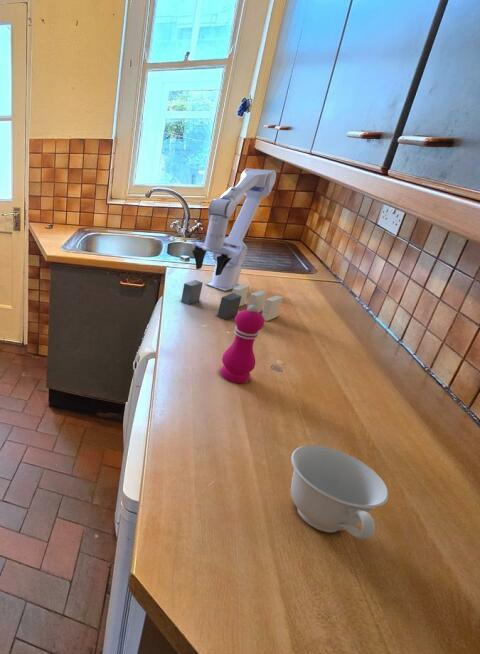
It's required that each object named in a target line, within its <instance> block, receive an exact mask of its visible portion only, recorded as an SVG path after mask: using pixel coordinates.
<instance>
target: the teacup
mask: <svg viewBox="0 0 480 654" xmlns="http://www.w3.org/2000/svg"><path fill="white" fill-rule="evenodd" d="M290 460H291V461H290V462H291V465H292V467H293V474H292V478H291V485H290V496H291V499H292V502H293V504H294V506H295V507H296V508H297V513H298V515H299V516H300V518H301V519H302V520H303V521H304V522H306V523H307V524H308V525H309V526H311V527H313V528H314V529H316V530H318V531H321V532H325V533H335V532H337V531H347V532H348V533H349V534H350V535H351V536H352V537H354V538H356V539H359V540H369V539H371V538H372V537H373V536H374V534H375V531H376V524H375V520H374V519H373V517H372V515H371V514H370V512H371V511H372V510H373V509H375V508H379V507H382V506H383V505H385V504H386V503H387V502H388V500H389V496H390V495H389V494H390V493H389V489H388V487H387V485H386V483H385V482H384V481H383V479H382V478H381V477H380V476H379V475H378V474H377V472H375V471H374V469H372V468H371V467H370V466H368V465H367V464H365V462H363V461H361V460H360V459H358V458H356V457H354V456H352V455H351V454H349V453H346V452H344V451H342V450H339V449H336V448H332V447H329V446H322V445H313V444H312V445H311V444H310V445H303V446H299V447H297V448H295V449H294V450H293V452H292V453H291V457H290ZM360 523H361V528H360V530H359V529H358V528H357V526H358V525H359V524H360Z"/></svg>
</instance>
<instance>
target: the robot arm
mask: <svg viewBox="0 0 480 654" xmlns="http://www.w3.org/2000/svg"><path fill="white" fill-rule="evenodd" d="M276 179H277V172H276V169H275V170H274V169H259V168H250V167H248V168H245V169H244V170H243V171H242V173H241V175H240V177H239V182H238V183H237V184H236V185H235V186H231V187H230V188H228V189H227V190H226V191H225V192H223V194H222V195H221V196H220V197H218V198H217V197H216V198H214V199H212V200H211V201H210V203H209V206H208V208H207V214H208V216H207V220H208V226H207V230H206V235H205V240H204V242H201V241H194V242H192V248H193V249H192V254H193V257H194V261H195V269H196V270H200V269H202V267H203V263H204V260H205V256H206V254H207V252H209V253H212V254H211V257H212V260H213V261H214V262H213V263H214V265H215V266H214V270H213V275H212V278H211V279H212V280H211V281H209V282H207V283H206V285H207V286H209V287H211V288H215V289H218V290H221V291H224V292H226V291H230V290H233V288H235V287H238V286H241V285H240V284H239V281H240V277H241V272H242V267H241V265H242V264H243V263H244V262H245V259H246V256H247V253H248V246H247V244H246V243H245V242H244V241H243V240H244V238H245V236H246V235H247V233H248V230H249V228H250V226H251V223H252V221H253V219H254V217H255V215H256V213H257V211H258V208H259V207H260V204H261V202H262V201H263V200H264V199H265V198H266V197H268V196H269V195H270V193H271V192H272V190H273V188H274V186H275V183H276ZM245 197H246V198H245ZM244 198H245V200H244ZM243 200H244V202H243V204H242V207H241V209H240V211H239V213H238V215H237V217H236V220H235V222H234V224H233V226H232V227H231V231H230V233H229V235H228V236H227V237H226V233H227V230H228V225H229V220H230V218H231V217H232V215H233V214H234V212H235V210H236V209H237V205H239V204H240V203H241V202H242V201H243Z"/></svg>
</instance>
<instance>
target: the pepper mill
mask: <svg viewBox="0 0 480 654" xmlns="http://www.w3.org/2000/svg"><path fill="white" fill-rule="evenodd" d="M234 324H235V325H236V326H235V327H234V331H233V333H234V340H233V342H232V343H231V344H230V345H229V347H228V348H227V349H226V350H225V351H224V353H223V354H222V357H221V362H222V364H223V365H222V366H221V370H220V374H221V376H222V377H223V378H224V379H225V380H227V381H229V382H232V383H236V384H245V383H247V382H248V381H249V380H250V376H251V372H252V371H253V370H254V369H255V367H256V356H255V353H254V342H255V340H256V339H257V338H259V334H260V331H261V329H263V327H264V325H265V320H264V318H263V316H262V313H261V312H257V307H256V306H255V305H250V306H249V307H248V310H247V309H243V310H240V311H238V312H237V315H236V316H234Z"/></svg>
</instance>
